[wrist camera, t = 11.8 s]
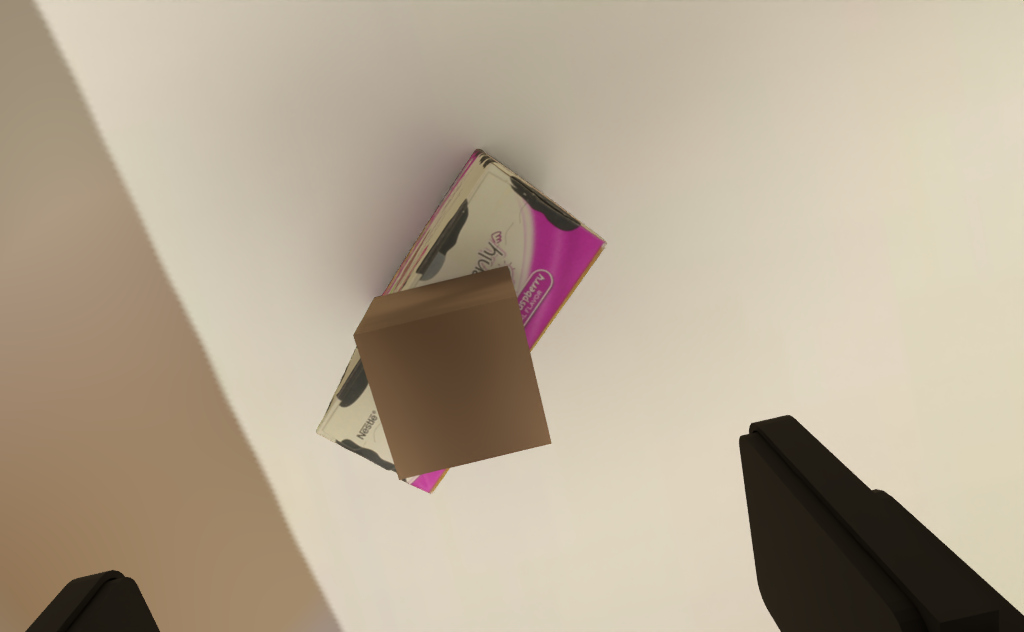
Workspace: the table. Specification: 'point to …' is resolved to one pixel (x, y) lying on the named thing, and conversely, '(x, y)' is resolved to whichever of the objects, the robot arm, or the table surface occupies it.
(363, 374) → the candy bar box
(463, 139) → the table surface
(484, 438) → the walnut block
